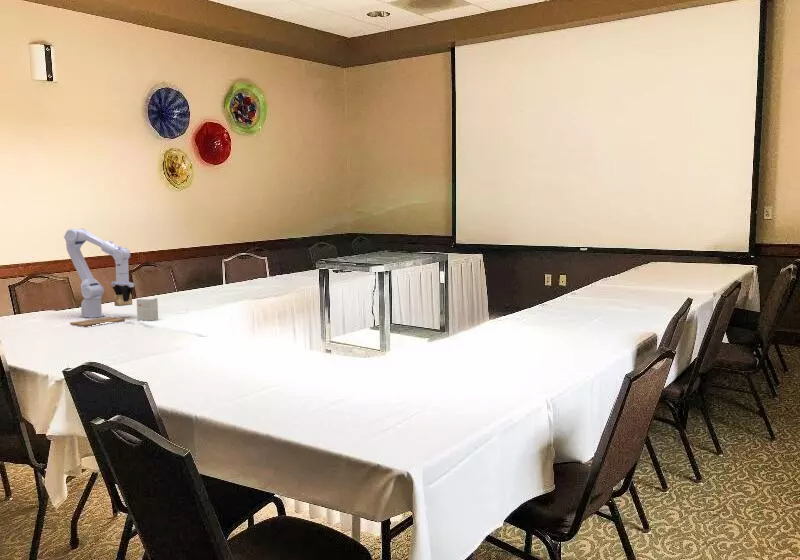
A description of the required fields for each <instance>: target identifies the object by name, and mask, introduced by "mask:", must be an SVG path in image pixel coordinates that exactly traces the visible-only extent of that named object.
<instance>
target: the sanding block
mask: <svg viewBox="0 0 800 560" xmlns="http://www.w3.org/2000/svg"><path fill="white" fill-rule="evenodd" d="M113 297H114V303H113V304H114V306H116V307H124V306H132V305H133V294H131V293H130V297H129V301H126V302H124V300H123V294H122V295H116V294H114V295H113Z"/></svg>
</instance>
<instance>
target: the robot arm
mask: <svg viewBox="0 0 800 560" xmlns="http://www.w3.org/2000/svg"><path fill="white" fill-rule="evenodd" d="M63 238H64V240H65V245H66V251H67V253H68V256H69V258H70V260H71V262H72V264H73V266H74V268H75V270H76V273H77V275H78V277H79V279H80V280H81V284H80V290H81V296H82V297H83V299H82V301H81V302H80V307H81V308H80V310H81V311H80V312H81V315H79V316H80V317H82V318H89V319H96V318H103V317H107V316H106V314H103V312H102V297H103V296H104V293H105V288H104V286H103V285H101V284H100V281H98V280H97V279H96V278H94V276H93V274H92V272H91V270H90V268H89V265H88V263H87V262H86V259H85V258H84V255H83V253H82V251H81V247H82V246H83V245H84V243H86V242H89V243H91V244H94V245H96V247H97V246H98V247H100V248H101V251H102V252H103V253H106V254H107V255H109V256H111V257H112V258H113V259H114V264H115V280H114V281H113V280H112V281H111V286H112V289H113V290H114V293H115V295H122V294H123V300H124V302H126V301H129V297H130V294H131V293H132V291H133V289H134V287H135V283H134V282H132V281H130V274H129V259H130V258H131V251H130V250H129V249H128V248H127V247H123V248H122V246H121V245H117V244H116V243H114V241H113V240H106V241H105V240H103V238H102V239H101V238H100V237H98V236H96V234H93V233H92V232H91V231H89V230H87V229H85V228H69V229H67V230H66V232H65V233H64V235H63Z"/></svg>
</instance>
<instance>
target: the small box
mask: <svg viewBox="0 0 800 560" xmlns="http://www.w3.org/2000/svg"><path fill="white" fill-rule="evenodd" d="M136 317H137V319H136V320H137V321H144V322H145V321H147V322H151V321H156V320H158V319H159V305H158V297H138V298H136Z"/></svg>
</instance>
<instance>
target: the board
mask: <svg viewBox="0 0 800 560" xmlns="http://www.w3.org/2000/svg"><path fill="white" fill-rule="evenodd" d="M125 320H126V319H125V318H119V317H113V316H104V317H97V318H90V319H85V320H79V321H72V322H69V325H70V324H71V325H70V326H74V325H78V326H77V327H81V326H84V327H83V328H89V327H88V326H91V327H93V326H92V325H96V324H100V323H105V322H117V323H122V322H125Z"/></svg>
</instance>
